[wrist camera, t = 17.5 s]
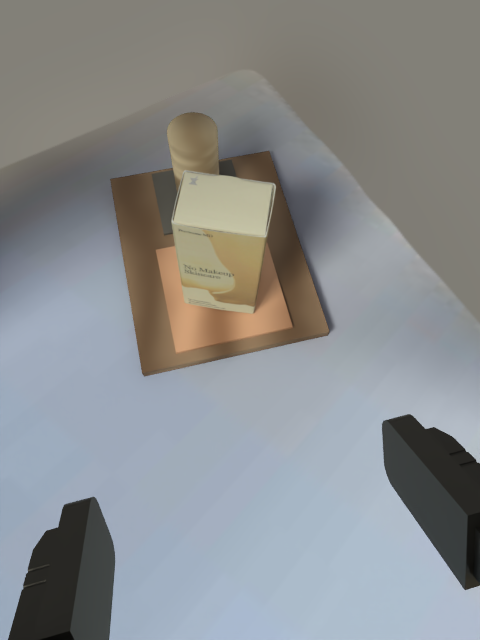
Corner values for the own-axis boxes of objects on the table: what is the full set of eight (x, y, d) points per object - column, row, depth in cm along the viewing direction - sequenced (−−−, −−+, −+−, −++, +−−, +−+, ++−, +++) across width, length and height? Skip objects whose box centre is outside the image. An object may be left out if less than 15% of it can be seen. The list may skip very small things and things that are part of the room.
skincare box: (183, 305, 39) (164, 223, 28) (193, 261, 41) (178, 167, 30) (257, 316, 39) (268, 237, 28) (264, 271, 41) (277, 180, 29)
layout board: (144, 376, 38) (119, 338, 30) (112, 185, 46) (85, 110, 37) (327, 335, 40) (353, 288, 31) (268, 157, 47) (276, 79, 39)
